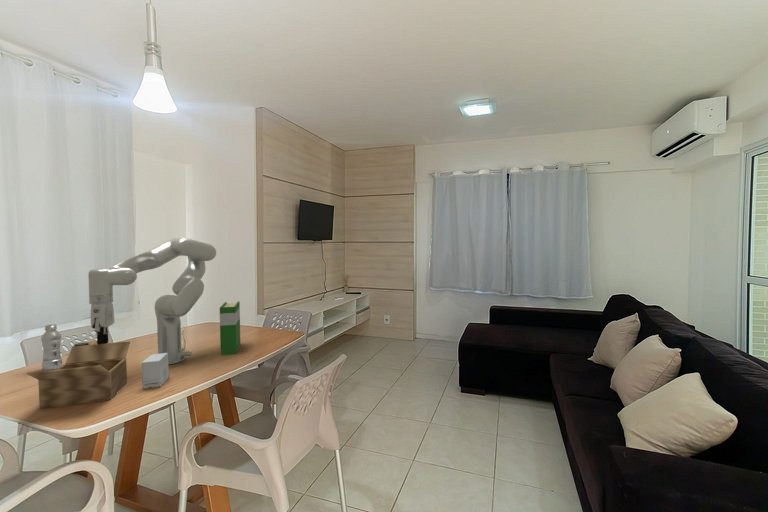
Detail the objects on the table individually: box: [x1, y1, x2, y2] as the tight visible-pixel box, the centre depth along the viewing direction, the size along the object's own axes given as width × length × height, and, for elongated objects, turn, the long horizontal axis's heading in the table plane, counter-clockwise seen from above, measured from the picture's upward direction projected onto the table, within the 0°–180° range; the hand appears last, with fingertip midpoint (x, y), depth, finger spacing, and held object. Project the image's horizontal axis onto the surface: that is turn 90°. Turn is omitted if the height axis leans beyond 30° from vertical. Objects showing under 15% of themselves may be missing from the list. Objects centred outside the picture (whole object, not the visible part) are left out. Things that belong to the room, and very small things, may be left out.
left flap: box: [26, 365, 109, 380], centre depth 116 cm, size 19×8×1 cm
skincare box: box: [141, 353, 170, 389], centre depth 138 cm, size 10×6×10 cm, turn 16°
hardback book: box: [219, 301, 241, 356], centre depth 181 cm, size 18×7×24 cm, turn 17°
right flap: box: [64, 341, 131, 364], centre depth 137 cm, size 19×8×1 cm
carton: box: [37, 357, 128, 410], centre depth 127 cm, size 20×16×10 cm
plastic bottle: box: [40, 324, 63, 371], centre depth 153 cm, size 6×7×20 cm
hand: (102, 343), depth 141 cm, fingers closed
